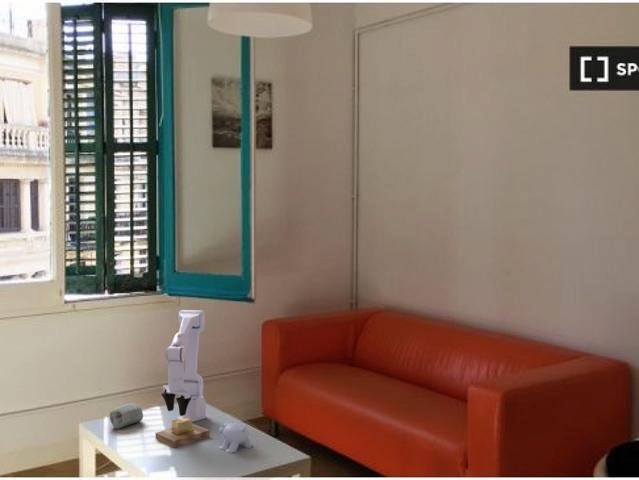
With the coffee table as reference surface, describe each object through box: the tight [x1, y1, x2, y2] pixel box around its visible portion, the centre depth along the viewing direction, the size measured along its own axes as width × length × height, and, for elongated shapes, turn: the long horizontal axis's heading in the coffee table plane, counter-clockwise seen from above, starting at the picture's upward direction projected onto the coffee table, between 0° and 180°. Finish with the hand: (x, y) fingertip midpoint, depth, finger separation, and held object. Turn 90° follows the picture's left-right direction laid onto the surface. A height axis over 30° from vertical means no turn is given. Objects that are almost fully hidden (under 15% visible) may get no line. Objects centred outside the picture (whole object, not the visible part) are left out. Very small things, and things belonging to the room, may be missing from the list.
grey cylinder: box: [109, 402, 144, 430], centre depth 300 cm, size 14×10×10 cm
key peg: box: [171, 417, 193, 436], centre depth 286 cm, size 4×6×7 cm, turn 137°
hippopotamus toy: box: [219, 422, 254, 454], centre depth 278 cm, size 11×15×10 cm
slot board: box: [154, 422, 211, 449], centre depth 286 cm, size 16×12×2 cm
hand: (176, 412), depth 288 cm, fingers open, 7 cm apart
